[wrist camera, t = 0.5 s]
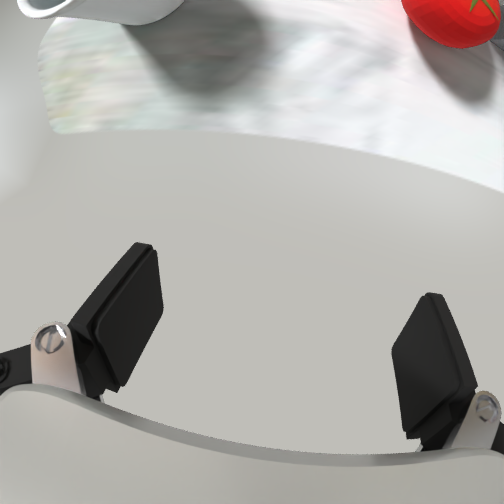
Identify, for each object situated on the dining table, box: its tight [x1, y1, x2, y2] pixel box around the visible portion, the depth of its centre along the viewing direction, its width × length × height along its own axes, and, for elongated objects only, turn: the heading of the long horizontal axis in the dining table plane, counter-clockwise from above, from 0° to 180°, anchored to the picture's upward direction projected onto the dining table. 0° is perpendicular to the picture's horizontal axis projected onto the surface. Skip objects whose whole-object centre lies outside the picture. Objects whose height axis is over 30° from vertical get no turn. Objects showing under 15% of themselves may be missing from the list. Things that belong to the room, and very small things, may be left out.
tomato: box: [401, 0, 501, 49], centre depth 16 cm, size 11×11×13 cm
